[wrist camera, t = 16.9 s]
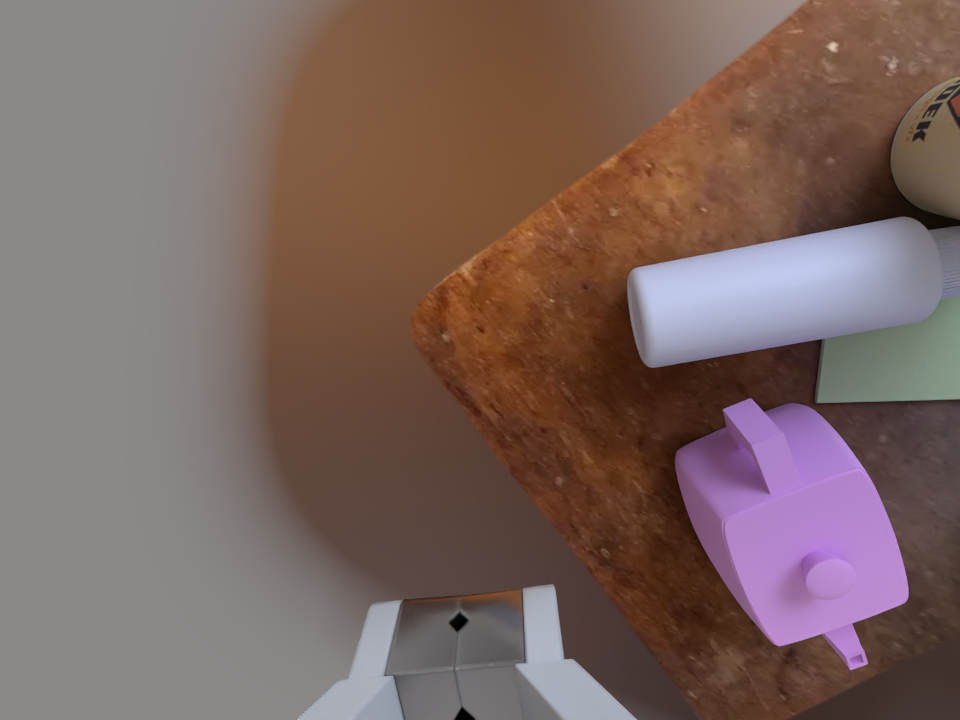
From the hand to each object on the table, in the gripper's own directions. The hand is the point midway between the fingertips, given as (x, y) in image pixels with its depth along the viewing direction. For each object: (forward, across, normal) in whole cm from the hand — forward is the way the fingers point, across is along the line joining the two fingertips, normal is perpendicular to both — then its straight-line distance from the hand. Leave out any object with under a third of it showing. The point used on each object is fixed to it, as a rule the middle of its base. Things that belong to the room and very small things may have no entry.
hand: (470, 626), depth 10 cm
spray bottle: (+28, -8, +3) cm, 29 cm away
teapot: (+31, -16, +18) cm, 39 cm away
